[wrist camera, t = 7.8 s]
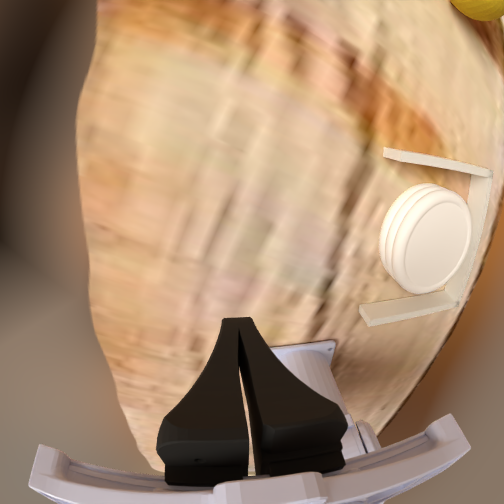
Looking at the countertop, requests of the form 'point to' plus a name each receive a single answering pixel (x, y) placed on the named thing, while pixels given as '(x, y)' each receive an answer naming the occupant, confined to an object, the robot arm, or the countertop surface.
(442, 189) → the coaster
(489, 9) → the lemon
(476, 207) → the sorting bin
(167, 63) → the countertop surface
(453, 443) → the robot arm
